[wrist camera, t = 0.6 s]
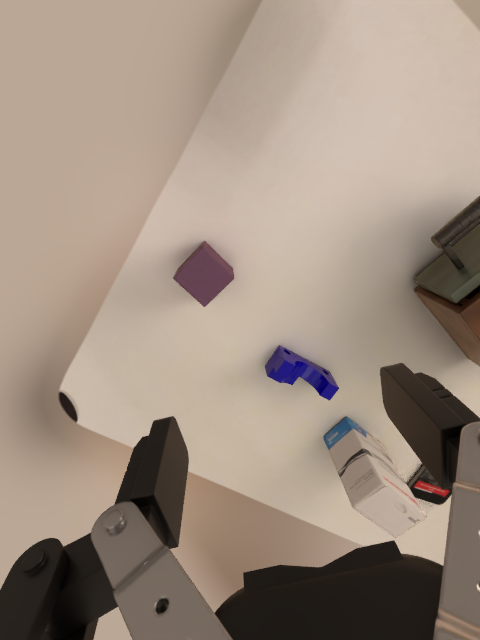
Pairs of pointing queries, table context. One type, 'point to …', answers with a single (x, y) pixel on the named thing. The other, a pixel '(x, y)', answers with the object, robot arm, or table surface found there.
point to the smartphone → (428, 488)
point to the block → (204, 274)
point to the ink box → (372, 479)
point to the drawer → (456, 259)
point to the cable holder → (300, 372)
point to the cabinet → (457, 320)
